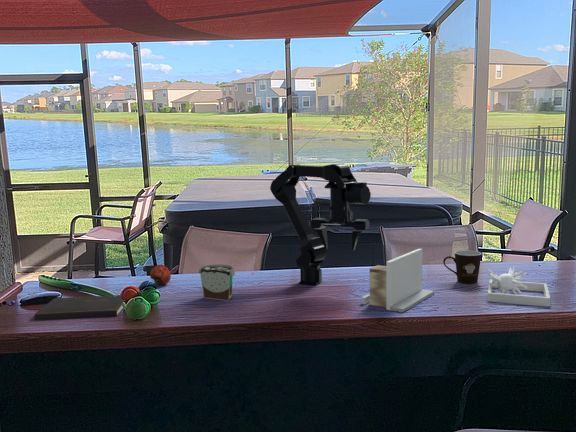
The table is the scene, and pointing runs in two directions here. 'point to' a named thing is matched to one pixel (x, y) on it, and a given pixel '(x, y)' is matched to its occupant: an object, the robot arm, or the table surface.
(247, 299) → the table surface
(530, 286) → the white flat square tray
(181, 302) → the table surface
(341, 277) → the table surface
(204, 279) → the food container
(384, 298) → the beige upright block
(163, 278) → the pomegranate
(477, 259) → the coffee mug
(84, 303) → the hardcover book
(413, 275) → the board
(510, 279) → the spiky ball
